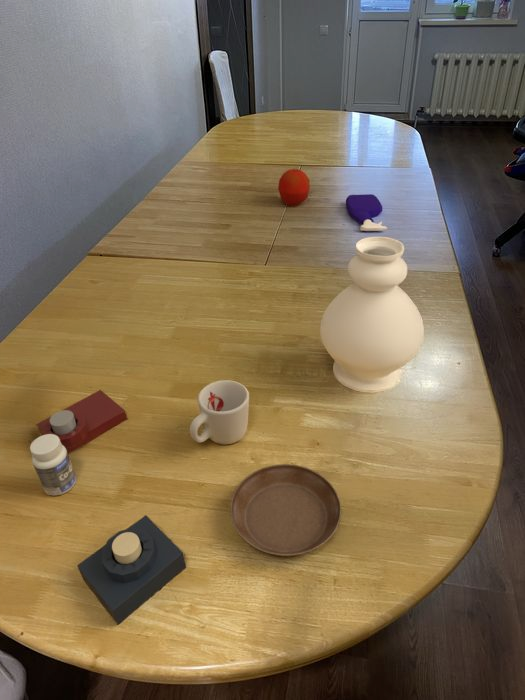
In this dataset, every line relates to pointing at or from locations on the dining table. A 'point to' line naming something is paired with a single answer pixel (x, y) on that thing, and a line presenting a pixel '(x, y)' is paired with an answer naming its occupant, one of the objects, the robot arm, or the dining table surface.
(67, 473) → the pill bottle
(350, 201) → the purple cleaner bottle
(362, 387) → the decorative vase
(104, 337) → the dining table surface
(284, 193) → the apple
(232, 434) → the cup
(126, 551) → the cylindrical peg
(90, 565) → the dark knob button block
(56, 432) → the light grey cylinder
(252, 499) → the saucer
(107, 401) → the red socket plate
